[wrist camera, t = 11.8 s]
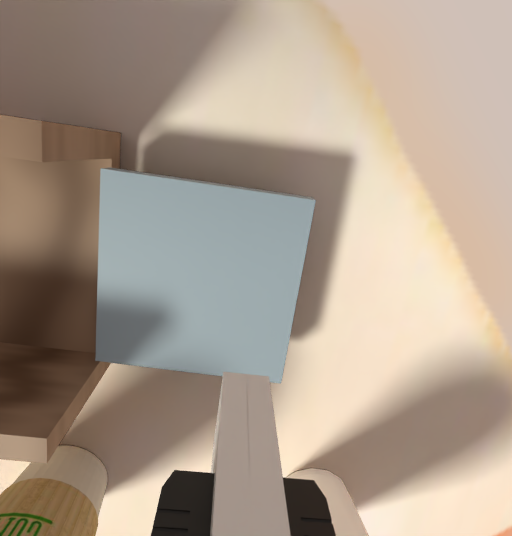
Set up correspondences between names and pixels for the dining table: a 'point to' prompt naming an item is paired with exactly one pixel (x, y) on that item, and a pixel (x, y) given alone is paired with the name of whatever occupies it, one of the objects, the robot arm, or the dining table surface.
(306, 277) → the dining table surface
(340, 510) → the foam cup
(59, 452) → the coffee cup
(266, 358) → the blue gray square panel
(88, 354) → the crate
